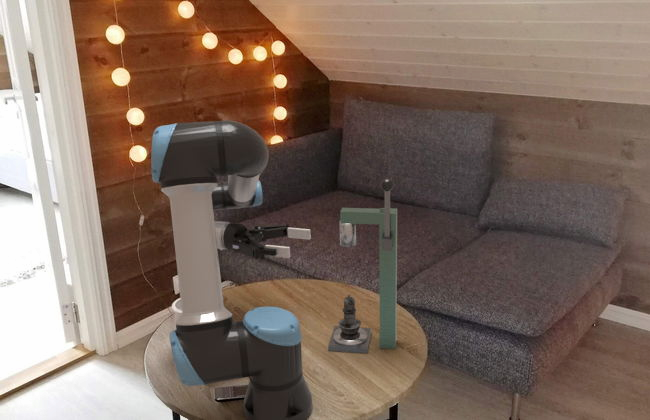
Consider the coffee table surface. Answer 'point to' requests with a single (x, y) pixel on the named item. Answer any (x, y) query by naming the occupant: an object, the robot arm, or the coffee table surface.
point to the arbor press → (387, 271)
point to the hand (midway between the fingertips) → (300, 243)
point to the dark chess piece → (349, 321)
